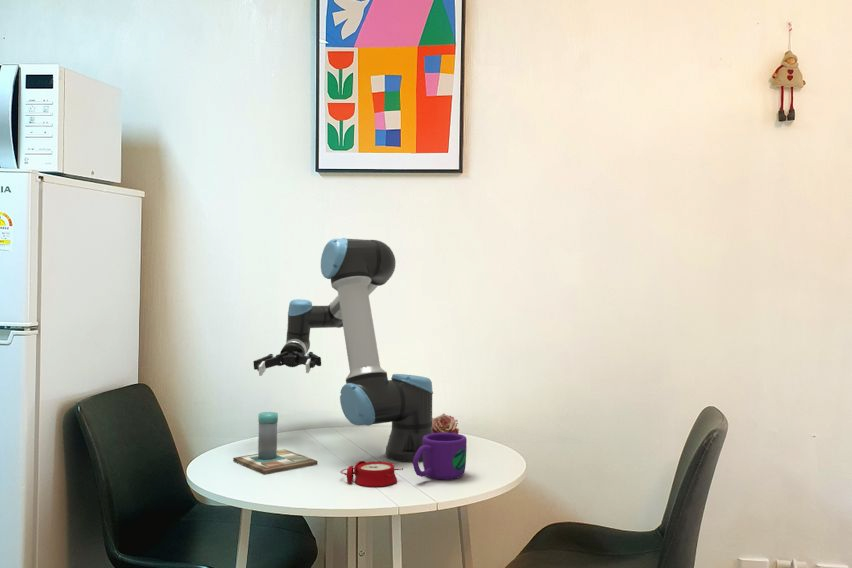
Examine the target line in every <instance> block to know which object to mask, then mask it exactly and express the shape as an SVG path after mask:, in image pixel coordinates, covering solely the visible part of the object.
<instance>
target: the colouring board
mask: <svg viewBox="0 0 852 568" xmlns="http://www.w3.org/2000/svg"><path fill="white" fill-rule="evenodd" d="M233 461H235V462H234V463H236V462H237V463H236V464H238V463H239V465H240V466H243V467H245V466H246V468H248V469H251V470H253V471H255V472H257V473H260V474H263V476H264V475H265V476H266V475H269V474H274V473H279V472H286V471H290V470H296V469H300V468H301V469H302V468H306V467H312V466H316V465H317V466H318V459H317V460H316V459H314V458H311V457H308V456H305V455H302V454H300V453H296V452H293V451H290V450H287V449H277V458H275V459H271V460H262V459H259V458H258V453H254V454H249V455H248V454H247V455H242V456H235V457H232V462H233Z"/></svg>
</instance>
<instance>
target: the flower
mask: <svg viewBox="0 0 852 568" xmlns="http://www.w3.org/2000/svg"><path fill="white" fill-rule="evenodd" d="M458 421H459V420H458V419H455V418H454V416H452V415H447V414H445V413H443V414H440V415H438V416H436V417H432V430H433V433H456V434H460V433H459V431H460V429H459V428H458V424H459V423H458Z"/></svg>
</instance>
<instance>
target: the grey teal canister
mask: <svg viewBox="0 0 852 568" xmlns="http://www.w3.org/2000/svg"><path fill="white" fill-rule="evenodd" d="M278 417H279V413H278V412H273V411H265V412H260V413H258V420H257V421H258V437H257V438H258V439H257V440H258V441H257V443H258V445H257V446H258V447H257V448H258V449H257V454H258V458H259V459H262V460H271V459H275V458H277V450H278V420H279V418H278Z"/></svg>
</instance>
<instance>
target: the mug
mask: <svg viewBox="0 0 852 568" xmlns="http://www.w3.org/2000/svg"><path fill="white" fill-rule="evenodd" d="M467 448H468V447H467V437H466V436H465V435H463V434H460V433H458V434H456V433H432V434H428V435H425V436H424V437H423V445H422V446H421V447H420V448H419V449H418V450H417V452H416V454H415V456H414V459H413V462H412V465H413V471H414V472H415V474H416V475H417V476H419V477H428V478H430V479H433V480H440V481H443V480H444V481H449V480H450V481H451V480H457V479H459V478H461V477H462V476H463V475H464V474H465V472H466V471H465V469H466V466H467ZM422 453H423V461H422V465H423V471H422V470H421V467H420V466H419V465H420V464H419V462H420V461H419V459H420V456H421V454H422Z"/></svg>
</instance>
